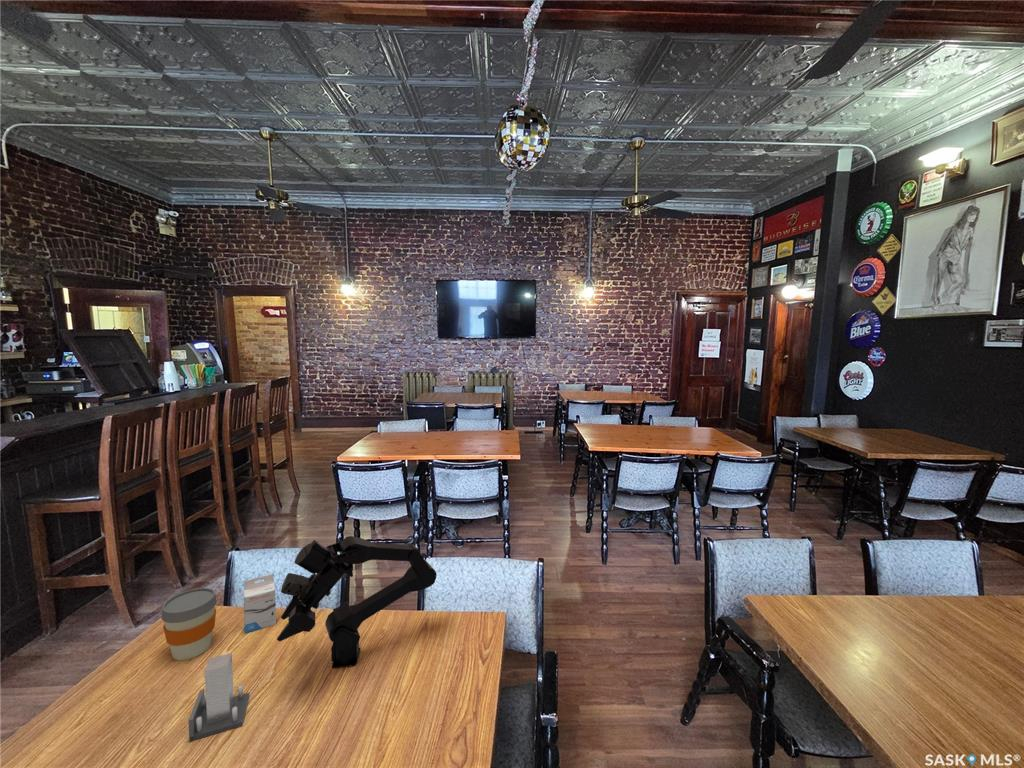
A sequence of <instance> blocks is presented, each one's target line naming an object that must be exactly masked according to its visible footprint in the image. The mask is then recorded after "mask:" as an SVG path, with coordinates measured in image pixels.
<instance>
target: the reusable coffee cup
mask: <svg viewBox="0 0 1024 768" xmlns="http://www.w3.org/2000/svg"><path fill="white" fill-rule="evenodd" d="M217 603H218V601H217V596H216V592H215V590H214V589H213V588H210V587H209V588H208V587H197V588H193V589H188V590H186V591H182V592H180V593H178V594H176V595H174V596H172V597H170V598H168V600H166V601H165V602H164V603H163V605H162V607H161V609H162V610H161V620H162V621H163V623H164V624H163V626H162V627H163V631H164V632H163V633H164V636H165V640H166V643H167V644H168V645H169V647H170V652H171V656H172V659H174V660H175V661H186V660H190V659H193V658H196V657H198V656H200V655H201V654H203V653H205V652H206V651H207V650H208V649H209V648H210V647H211V644H212V637H213V630H214V629H215V625H216V617H217V616H216V615H217V609H216V606H217Z"/></svg>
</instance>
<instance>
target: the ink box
mask: <svg viewBox="0 0 1024 768" xmlns="http://www.w3.org/2000/svg"><path fill="white" fill-rule="evenodd" d="M258 581H260V582H258ZM243 584H244V585H243V587H244V590H243V614H244V615H243V619H244V622H243V624H244V633H245V634H247V633H251V632H254V631H259V630H262V629H264V628H268V627H271V626H275V625H276V624H277V607H276V605H277V602H276V600H277V599H276V598H277V597H276V584H275V581H274V574H273V573H270V574H266V575H262V576H258V577H254V578H251V579H246V580H244V581H243Z"/></svg>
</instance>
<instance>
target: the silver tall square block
mask: <svg viewBox="0 0 1024 768" xmlns="http://www.w3.org/2000/svg"><path fill="white" fill-rule="evenodd" d="M233 676H234V672H233V652H229V653H226V654H221V655H217V656H213V657H209V659H208V662H207V664H206V667H205V669H204V687H205V689H204V690H205V695H206V708H207V724H211V723H214V722H217V721H221V720H224V719H228V718H230V716H231V713H232V708H233V705H234V696H235V694H234V693H235V692H234V677H233Z"/></svg>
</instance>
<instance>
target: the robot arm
mask: <svg viewBox="0 0 1024 768" xmlns="http://www.w3.org/2000/svg"><path fill="white" fill-rule="evenodd" d="M369 561H390V562H392V561H394V562H409V565H410V567H408V569H407V570H406V571H405V573H404V575H402V576H401V578H398V579H397V580H394V582H391V583H390V584H388V585H387V586H385V587H384V588H382V589H380V590H379V591H377V592H375V593H374V594H372V595H370V596H368V597H367V598H365V599H364V600H362V601H360V602H359V603H357V604H352V605H350V604H349V602H348V601H345V602H344V603H342V604H341V605H339V606H338V607H335V608H332V611H331V612H330V613H329V614H328V615H327V617H326V619H325V623H324V624H325V629H326V631H327V634H328V638H329V640H330V641H331V642H332V645H331V648H330V651H331V652H330V655H331V657H330V658H331V662H332V664H331V668H332V669H336V668H344V667H345V668H346V667H347V668H348V667H355V666H357V665H358V662H359V661H358V660H359V657H360V653H361V647H360V638H361V635H360V633H359V630H358V629H359V627H360V626H362V623H364V622H365V621H366V620H368V619H369V618H371V617H372V616H374V615H376V614H378V612H381V610H383V609H386V607H388V606H391V604H394V603H395V602H396V601H398V600H399V599H401V598H402V597H404V596H406V595H408V594H409V593H413V592H421V591H424V590H426V589H428V588H430V587H432V585H434V584H435V582H436V579H437V575H438V574H437V572H436V570H435V568H433V566H432V565H431V564H430V563H429V562H428V561H427V560H425V559H424V557H423V556H422V554H421V551H420V550H419V549H418V547H417V546H416V545H414V544H412V543H411V544H410V543H409V544H400V543H399V544H397V543H382V542H373V541H369V540H367V539H364V538H362V537H357V536H353V535H348V536H346V537H344V538H343V539H342V540H341V541H338V542H336V543H332V544H330V545H327V546H326V547H325V546H324V545H322V544H321V543H319V541H317V540H316V539H313V540H312V542H311V543H308V544H306V545H305V546H303V547H302V548H301V549H300V551H299V552H298V553H297V555H296V557H295V559H294V564H295V565H297V566H299V567H301V568H302V569H303V570H306V571H307V572H309V573H311V575H310V576H309V577H307V576H304V575H301V574H298V573H297V574H296V573H291V572H289V573H287V574H286V577H284V578H285V579H284V580H283V583H282V584H281V589H280V592H281V594H283V595H287V596H292V597H291V600H290V601H289V602H288V604H287V606H286V607H285V610H283V613H282V614H281V616H280V618H281V620H282V621H283V620H286V619H288V622H287V624H286V625H285V626H284V628H283V629H282V631H281V632H280V633H279V634H278V637H276V641H278V642H283V641H284V640H286V639H288V638H291V637H293V636H295V635H298V634H300V633H302V632H305V633H306V632H307V633H310V632H311V631H312V630H313V629H314V627H316V618H317V617H316V612H315V611H313V610H312V608H313V609H315V610H317V609H318V608H320V602H321V601H322V600H323V599H324V598H325V596H326V597H329V596H330V595H331V593H332V589H333V587H334V586H336V585H337V583H338V582H339V581H340V580H341V579H342V578H343V577H344V576H345V575H347V576H348V577H350V578H353V577H354V565H359V564H365V563H367V562H369Z"/></svg>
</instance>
